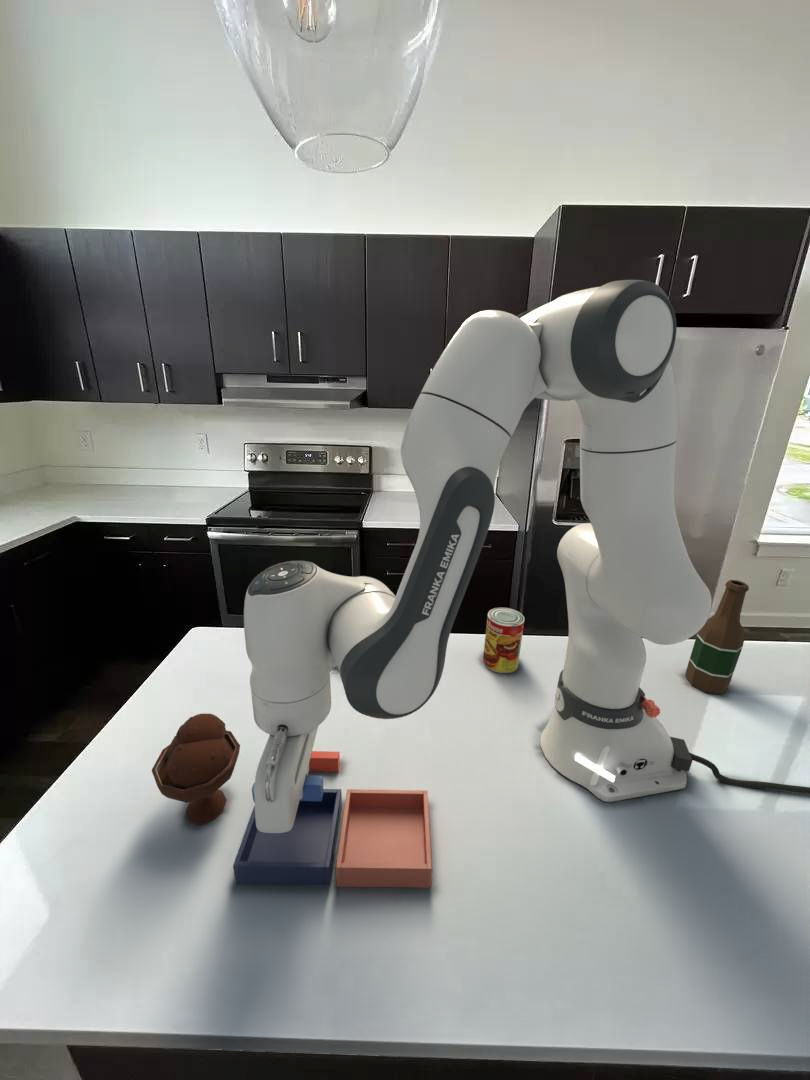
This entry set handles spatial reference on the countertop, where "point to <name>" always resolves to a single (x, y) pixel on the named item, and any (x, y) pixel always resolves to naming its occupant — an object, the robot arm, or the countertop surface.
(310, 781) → the blue elongated piece
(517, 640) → the canned food
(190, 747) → the ice cream bowl
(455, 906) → the countertop surface
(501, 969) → the countertop surface
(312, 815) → the blue bin
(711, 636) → the beer bottle
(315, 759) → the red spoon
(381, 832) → the red bin
